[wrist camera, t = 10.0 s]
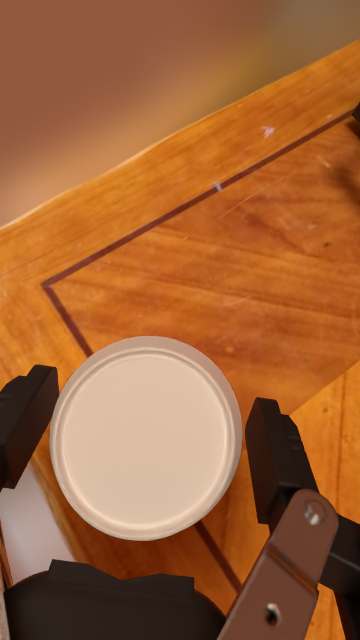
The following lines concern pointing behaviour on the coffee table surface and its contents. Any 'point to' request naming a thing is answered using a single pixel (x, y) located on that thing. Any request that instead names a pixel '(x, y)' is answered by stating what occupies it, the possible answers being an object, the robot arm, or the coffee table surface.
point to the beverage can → (145, 438)
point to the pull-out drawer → (357, 113)
